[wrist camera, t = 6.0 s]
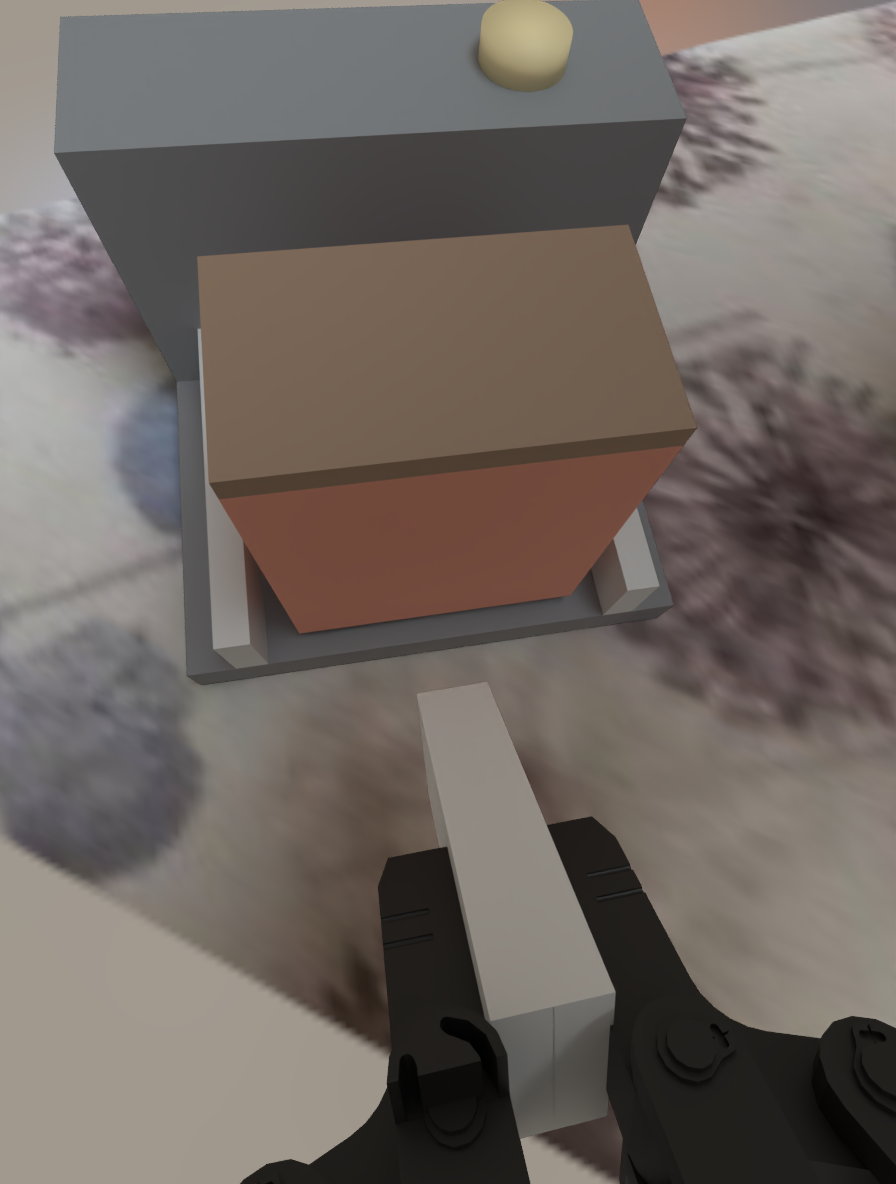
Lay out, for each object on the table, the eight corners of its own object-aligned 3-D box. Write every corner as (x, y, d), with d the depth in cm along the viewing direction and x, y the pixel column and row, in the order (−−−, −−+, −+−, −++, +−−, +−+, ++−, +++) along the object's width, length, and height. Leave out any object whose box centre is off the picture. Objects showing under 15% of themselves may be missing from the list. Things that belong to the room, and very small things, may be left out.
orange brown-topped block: (286, 491, 21) (197, 256, 12) (538, 462, 22) (628, 224, 13) (299, 633, 20) (208, 482, 11) (570, 595, 21) (697, 428, 12)
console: (185, 304, 26) (43, -21, 16) (559, 274, 28) (647, -37, 18) (201, 685, 21) (8, 566, 11) (656, 618, 23) (859, 461, 13)
